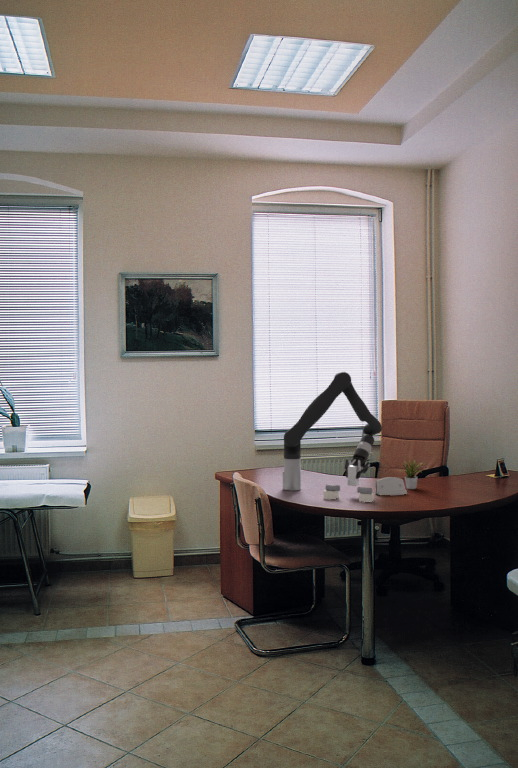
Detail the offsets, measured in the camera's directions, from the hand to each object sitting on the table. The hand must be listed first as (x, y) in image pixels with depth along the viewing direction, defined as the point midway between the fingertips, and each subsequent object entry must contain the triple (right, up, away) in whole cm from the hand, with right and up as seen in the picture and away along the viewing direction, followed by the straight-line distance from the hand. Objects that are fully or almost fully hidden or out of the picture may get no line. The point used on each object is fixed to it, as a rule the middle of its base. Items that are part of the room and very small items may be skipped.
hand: (351, 477), depth 349 cm
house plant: (+36, -9, +22) cm, 43 cm away
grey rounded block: (+22, -10, +8) cm, 25 cm away
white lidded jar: (-11, -10, -2) cm, 15 cm away
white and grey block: (+6, -11, -10) cm, 16 cm away
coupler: (+1, -4, +2) cm, 5 cm away
